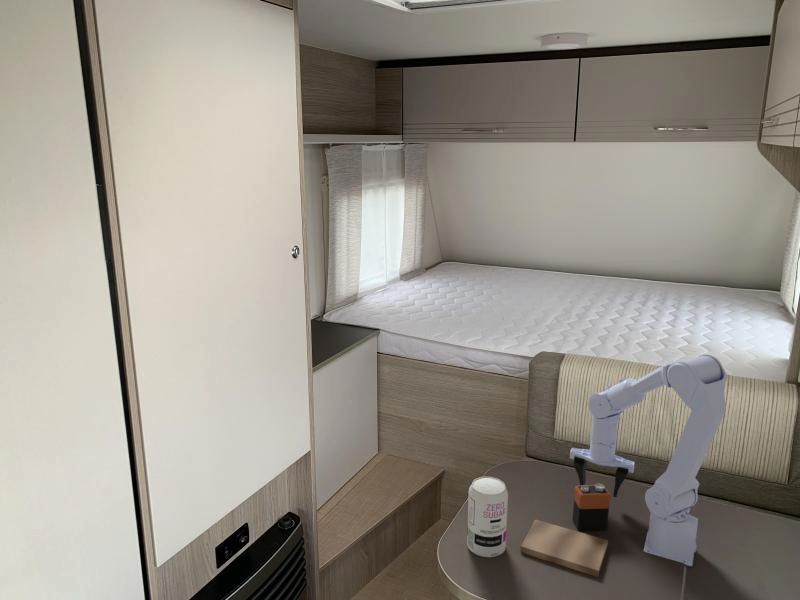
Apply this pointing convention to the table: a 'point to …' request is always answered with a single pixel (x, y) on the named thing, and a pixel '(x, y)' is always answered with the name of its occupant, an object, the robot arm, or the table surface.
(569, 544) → the wooden flat block
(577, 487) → the battery
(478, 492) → the supplement can
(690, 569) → the table surface
